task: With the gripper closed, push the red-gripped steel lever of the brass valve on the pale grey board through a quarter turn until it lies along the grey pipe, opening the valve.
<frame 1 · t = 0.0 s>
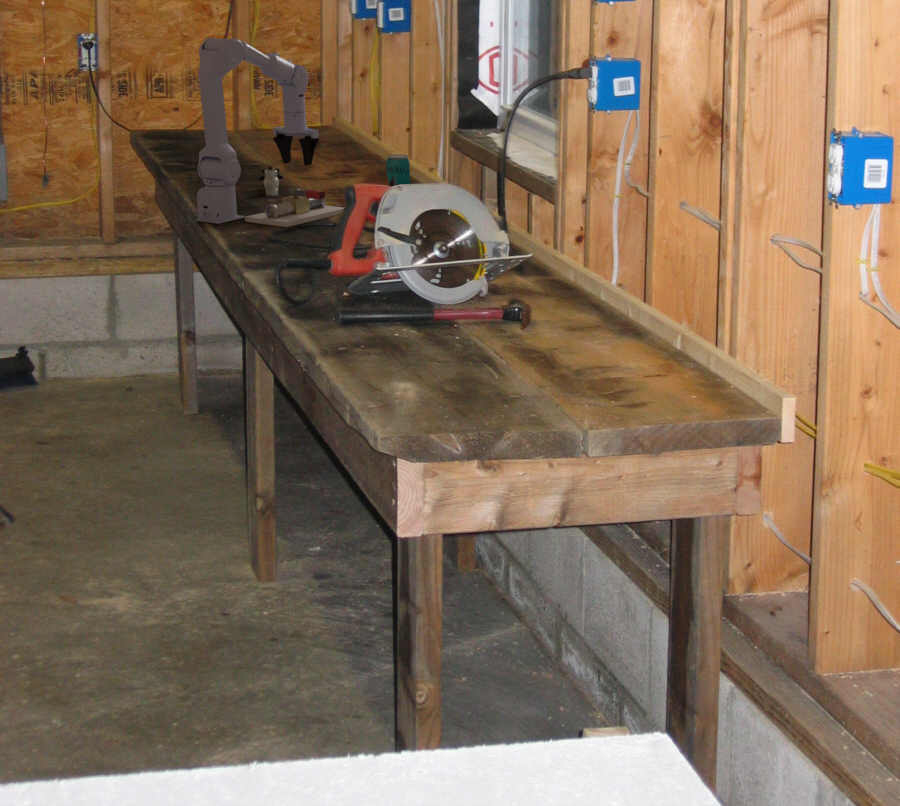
hand: (297, 164, 373), 10 cm above the table, tool pointing down, fingers open, 7 cm apart
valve: (272, 193, 392), on the table
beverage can: (399, 217, 353), on the table
mounting board: (296, 217, 356), on the table
valve body: (296, 217, 356), resting on mounting board
valve lever: (306, 193, 352), point 6 cm above the table, hinge at 0.0°
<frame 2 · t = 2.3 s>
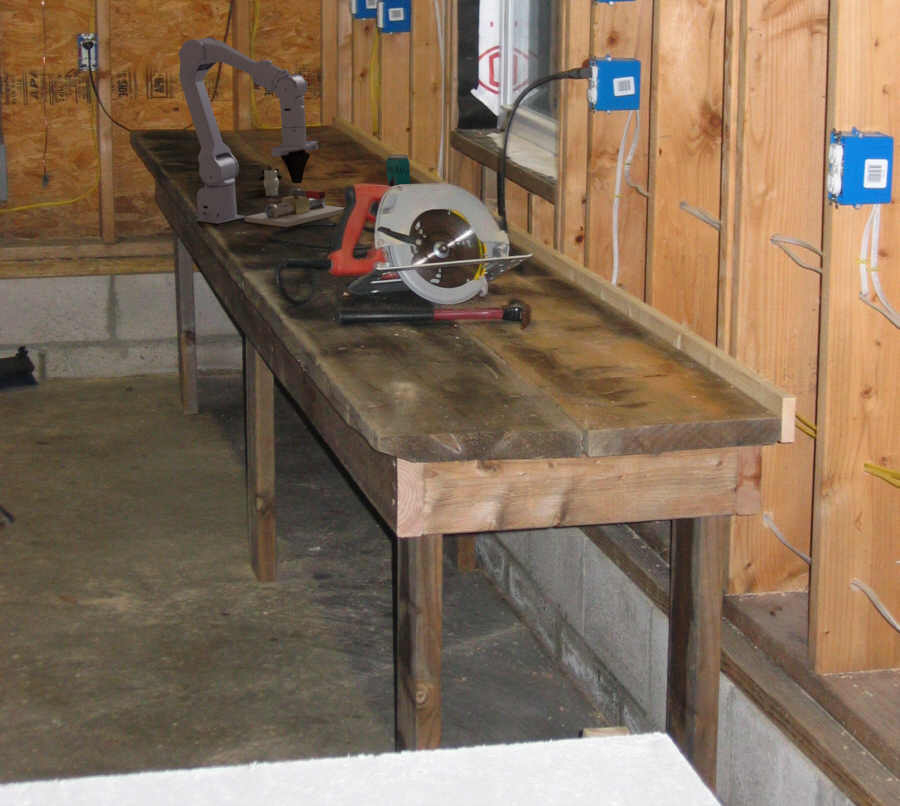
hand: (296, 182, 344), 10 cm above the table, tool pointing down, fingers closed
nothing on the table moved.
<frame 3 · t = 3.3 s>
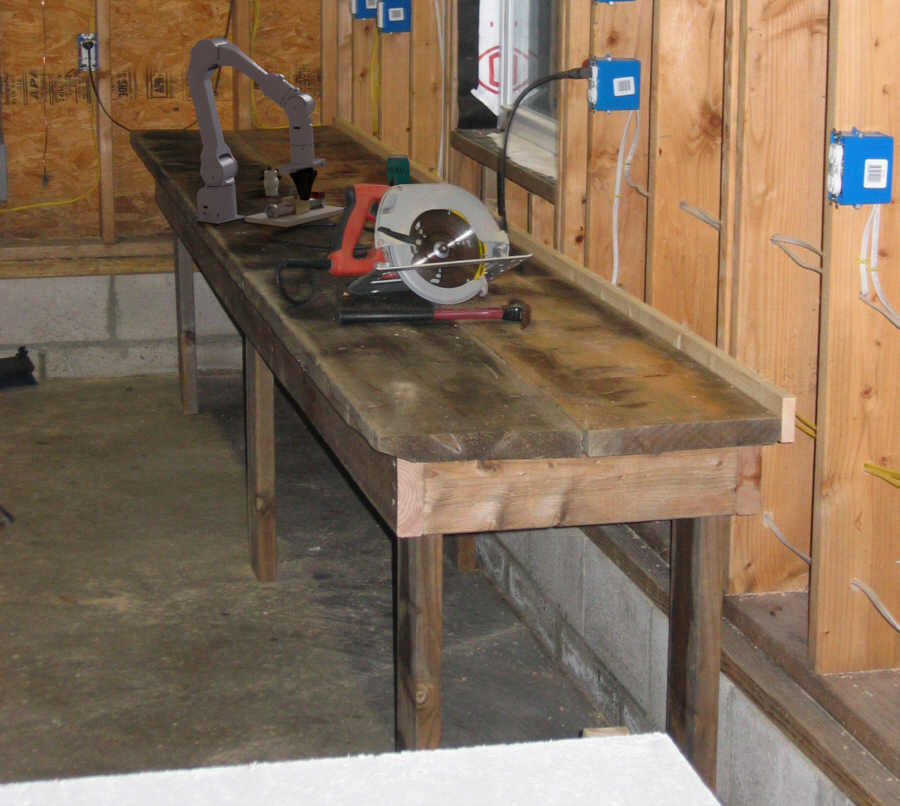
hand: (304, 200, 348), 5 cm above the table, tool pointing down, fingers closed
nothing on the table moved.
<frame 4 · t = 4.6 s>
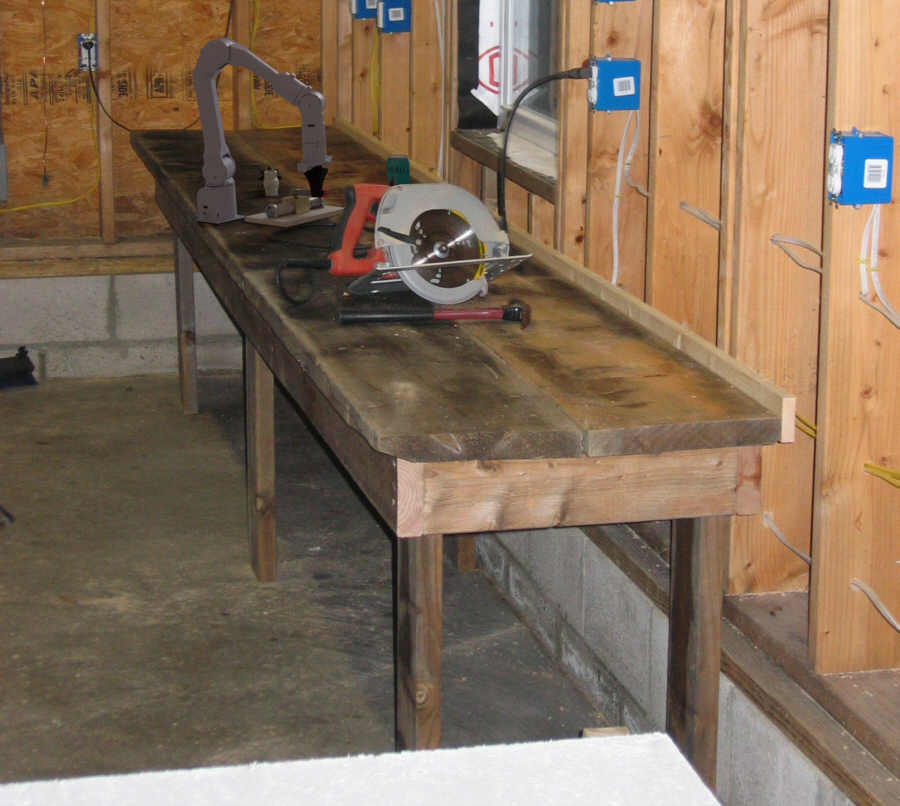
hand: (316, 197, 351), 5 cm above the table, tool pointing down, fingers closed, pressing on valve lever
valve lever: (309, 192, 353), point 6 cm above the table, hinge at 20.7°, touching gripper
everything else where it was.
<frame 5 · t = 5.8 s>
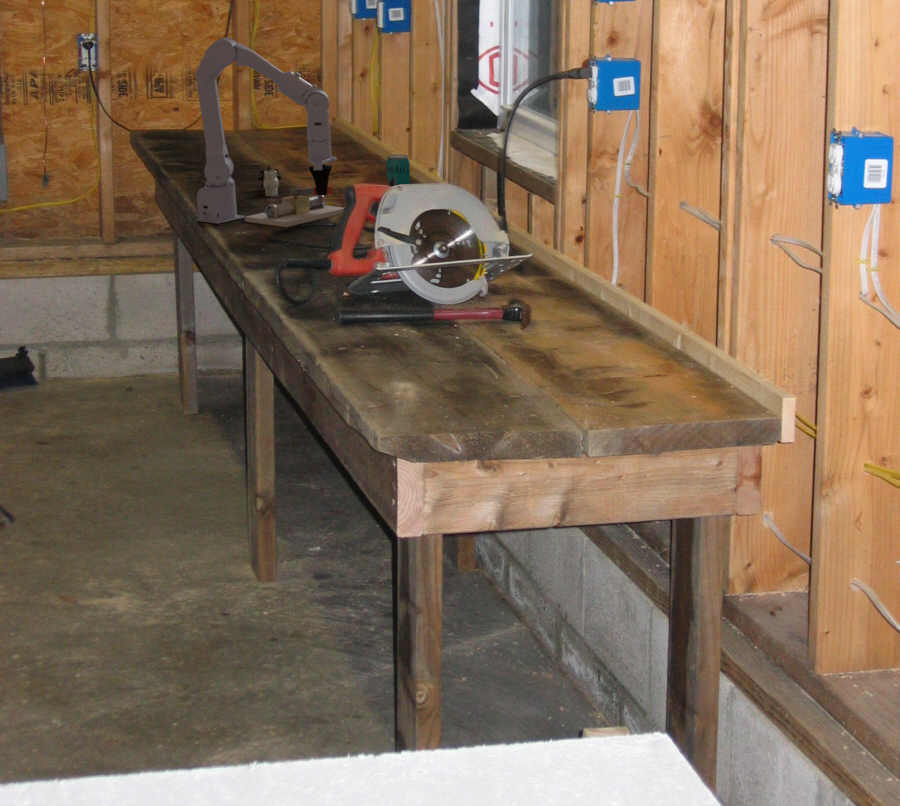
hand: (322, 195, 354), 5 cm above the table, tool pointing down, fingers closed, pressing on valve lever
valve lever: (310, 191, 355), point 6 cm above the table, hinge at 52.4°, touching gripper
everything else where it was.
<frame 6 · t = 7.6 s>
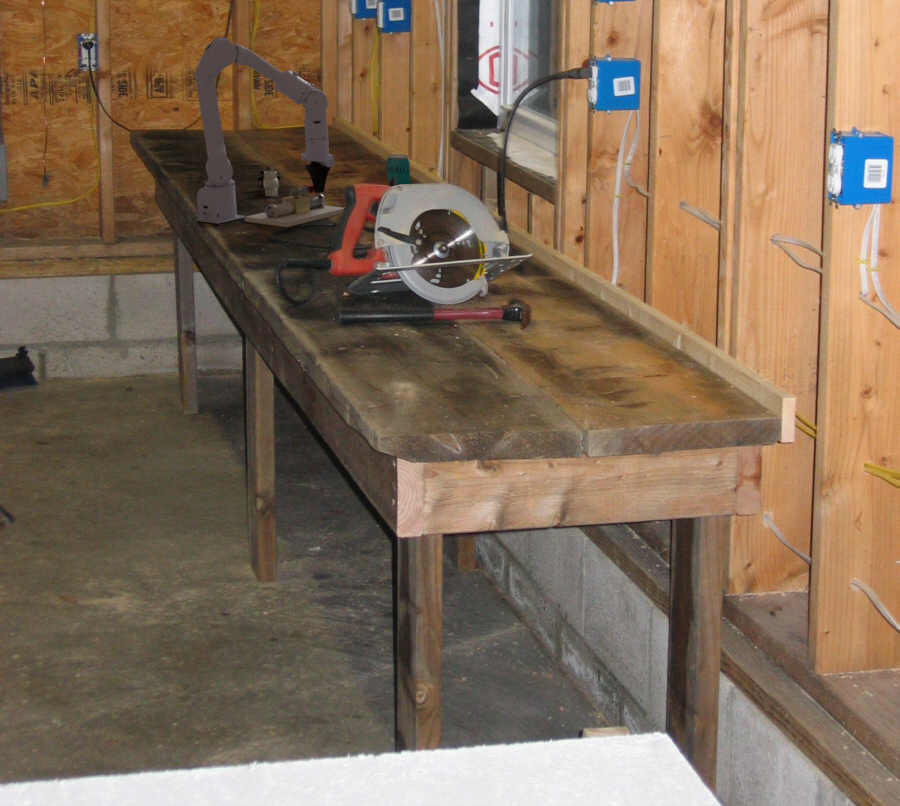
hand: (319, 192, 358), 5 cm above the table, tool pointing down, fingers closed
valve lever: (305, 189, 357), point 6 cm above the table, hinge at 90.2°, touching gripper
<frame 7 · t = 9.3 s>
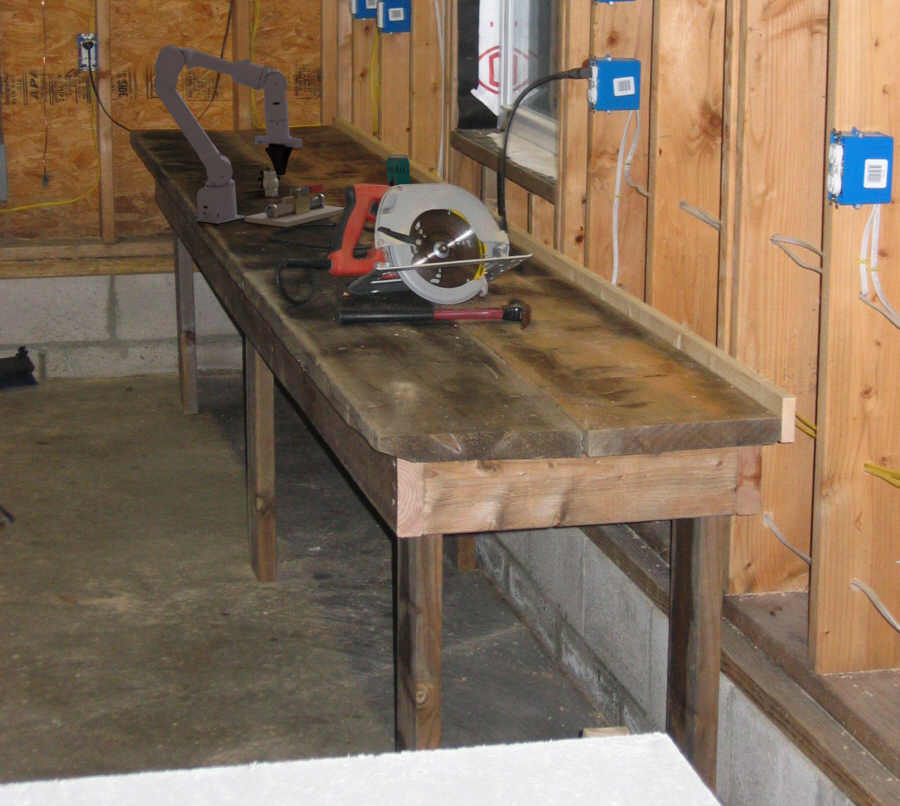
hand: (280, 174, 354), 10 cm above the table, tool pointing down, fingers closed
valve lever: (305, 189, 357), point 6 cm above the table, hinge at 90.2°
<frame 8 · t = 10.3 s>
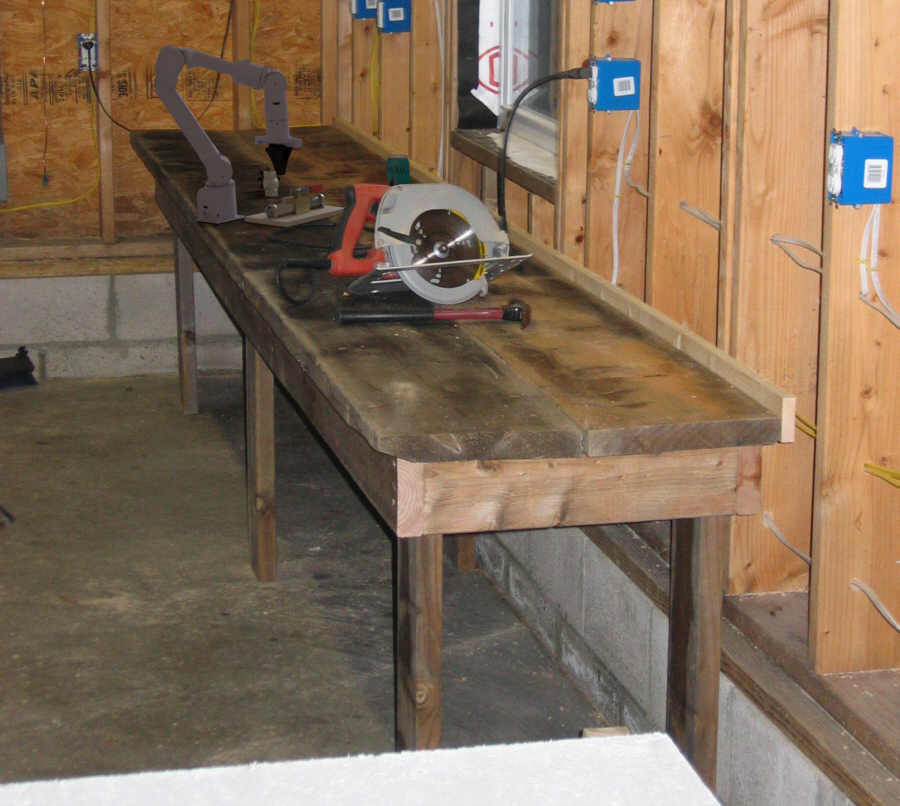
hand: (280, 174, 354), 10 cm above the table, tool pointing down, fingers closed
at the end: valve lever at +90° (first picture: +0°); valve moved 1.7 cm from its start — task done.
